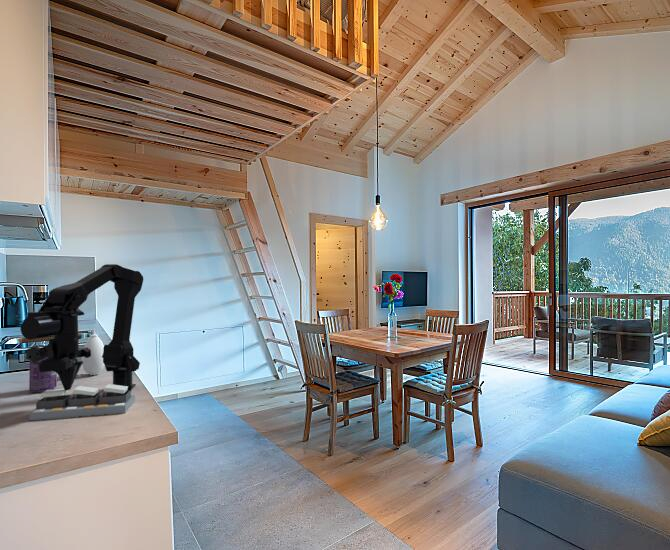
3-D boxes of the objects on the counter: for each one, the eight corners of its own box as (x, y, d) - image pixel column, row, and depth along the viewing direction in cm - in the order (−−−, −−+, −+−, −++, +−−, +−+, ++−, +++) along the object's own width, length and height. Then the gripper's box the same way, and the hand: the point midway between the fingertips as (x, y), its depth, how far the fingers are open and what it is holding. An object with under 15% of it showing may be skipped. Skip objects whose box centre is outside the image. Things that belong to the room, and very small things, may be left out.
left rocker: (47, 393, 105) (46, 390, 105) (68, 391, 107) (68, 388, 107) (40, 397, 102) (40, 393, 102) (62, 395, 103) (62, 391, 103)
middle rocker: (78, 389, 107) (78, 385, 107) (98, 391, 108) (99, 388, 109) (72, 393, 104) (73, 389, 104) (93, 395, 105) (94, 392, 105)
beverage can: (52, 385, 130) (53, 350, 130) (59, 389, 126) (59, 353, 126) (26, 390, 125) (26, 354, 125) (32, 394, 120) (32, 356, 120)
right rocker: (107, 387, 109) (108, 383, 109) (127, 389, 110) (128, 386, 110) (103, 391, 106) (104, 387, 106) (123, 393, 107) (124, 390, 107)
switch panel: (47, 407, 108) (47, 392, 108) (134, 401, 114) (135, 386, 114) (28, 420, 98) (28, 403, 98) (125, 413, 104) (125, 396, 104)
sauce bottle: (79, 378, 140) (79, 329, 140) (83, 373, 147) (84, 326, 147) (104, 376, 143) (104, 328, 143) (107, 371, 150) (107, 325, 150)
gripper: (48, 331, 112) (49, 384, 112) (12, 340, 94) (14, 404, 94) (90, 328, 115) (92, 380, 115) (63, 337, 97) (65, 398, 97)
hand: (67, 389), depth 105 cm, fingers closed, pressing on left rocker
